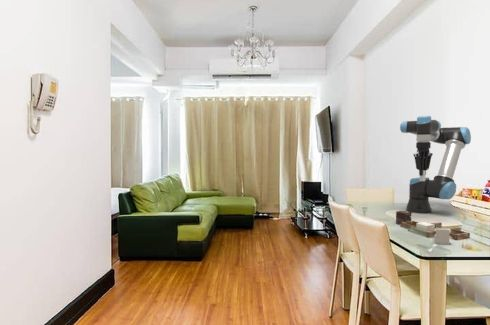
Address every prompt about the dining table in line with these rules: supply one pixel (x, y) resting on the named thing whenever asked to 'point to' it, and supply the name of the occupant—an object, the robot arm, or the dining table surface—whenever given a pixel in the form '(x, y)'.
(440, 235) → the grey square block
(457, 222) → the dining table surface
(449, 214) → the dining table surface
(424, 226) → the block
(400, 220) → the box
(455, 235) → the trap channel
